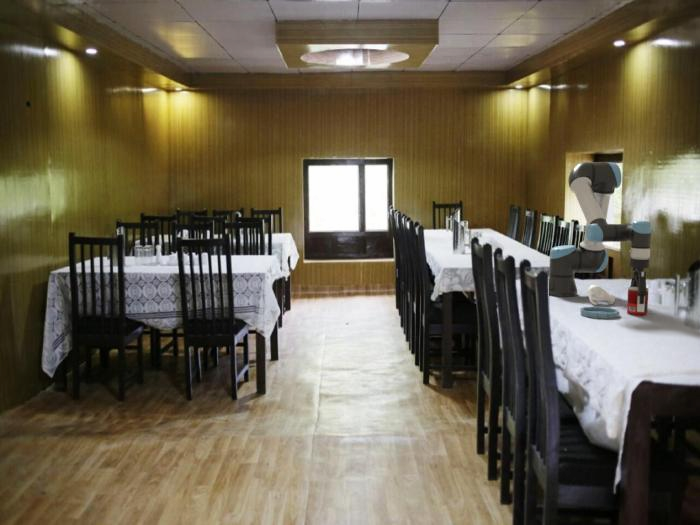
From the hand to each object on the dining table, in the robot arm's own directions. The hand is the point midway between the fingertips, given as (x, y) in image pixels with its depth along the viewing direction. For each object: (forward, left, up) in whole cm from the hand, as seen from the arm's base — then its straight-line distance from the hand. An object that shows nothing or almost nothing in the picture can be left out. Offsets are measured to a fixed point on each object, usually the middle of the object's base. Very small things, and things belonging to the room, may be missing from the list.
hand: (637, 308), depth 322 cm
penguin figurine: (-22, -11, -2) cm, 25 cm away
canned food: (0, 0, -2) cm, 2 cm away
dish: (+6, -16, -2) cm, 17 cm away
